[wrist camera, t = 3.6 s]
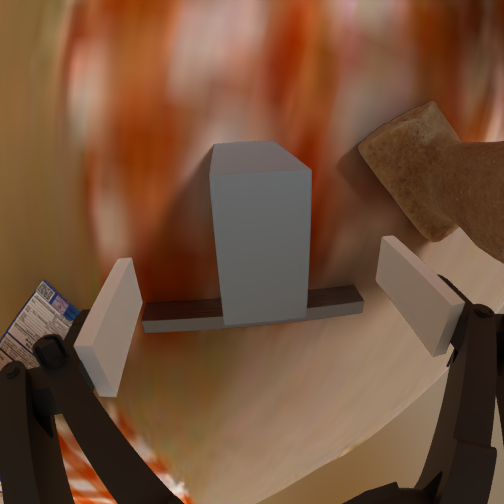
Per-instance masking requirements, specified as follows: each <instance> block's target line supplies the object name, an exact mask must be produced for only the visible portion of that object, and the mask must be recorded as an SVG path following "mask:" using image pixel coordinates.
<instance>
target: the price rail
mask: <svg viewBox="0 0 504 504" xmlns="http://www.w3.org/2000/svg"><path fill="white" fill-rule="evenodd" d="M363 305H364V300H363V298H362V297H361V295H360V294H359V292H358V291H357V289H356V287H355V286H354V285H352V286H344V287H335V288H326V289H317V290H308V296H307V311H306V317H304V318H296V319H287V320H277V321H267V322H257V323H246V324H234V325H224V317H223V309H222V301H221V298H220V299H207V300H193V301H178V302H162V303H147V304H146V307H145V311H144V314H143V317H142V321H141V322H142V325H143V328H144V331H145V333H156V332H178V331H195V330H211V329H224V328H237V327H249V326H259V325H270V324H279V323H289V322H297V321H306V320H314V319H322V318H330V317H337V316H344V315H351V314H358V313H362V311H363Z"/></svg>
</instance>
